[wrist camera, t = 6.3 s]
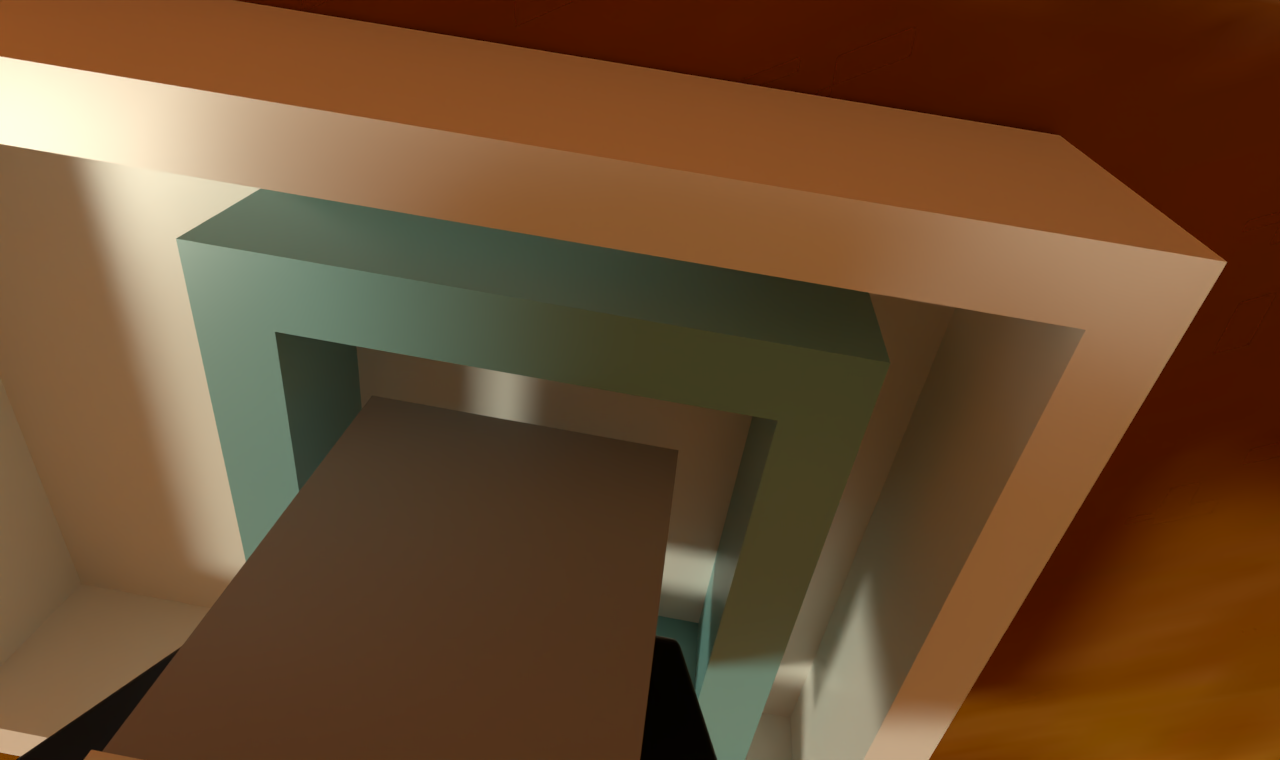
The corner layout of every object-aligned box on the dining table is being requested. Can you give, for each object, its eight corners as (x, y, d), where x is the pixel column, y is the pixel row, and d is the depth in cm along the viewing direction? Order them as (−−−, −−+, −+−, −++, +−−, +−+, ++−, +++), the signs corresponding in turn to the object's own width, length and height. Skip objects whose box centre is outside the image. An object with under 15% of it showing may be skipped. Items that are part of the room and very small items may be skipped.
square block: (640, 653, 12) (561, 1209, 7) (384, 605, 12) (121, 1118, 7) (683, 447, 10) (611, 1047, 5) (368, 390, 10) (-38, 915, 5)
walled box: (816, 704, 16) (834, 916, 13) (89, 567, 17) (-78, 736, 13) (1060, 135, 10) (1227, 263, 6) (-149, -63, 10) (-597, -44, 7)
